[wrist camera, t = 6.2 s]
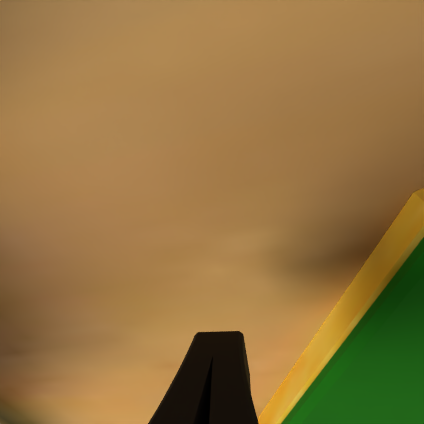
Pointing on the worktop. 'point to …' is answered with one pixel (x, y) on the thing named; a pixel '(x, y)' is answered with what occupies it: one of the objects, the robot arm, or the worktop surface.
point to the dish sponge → (367, 342)
